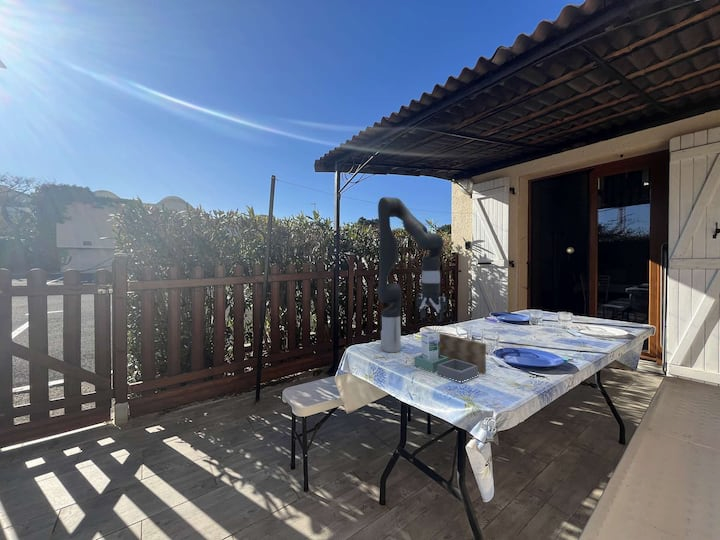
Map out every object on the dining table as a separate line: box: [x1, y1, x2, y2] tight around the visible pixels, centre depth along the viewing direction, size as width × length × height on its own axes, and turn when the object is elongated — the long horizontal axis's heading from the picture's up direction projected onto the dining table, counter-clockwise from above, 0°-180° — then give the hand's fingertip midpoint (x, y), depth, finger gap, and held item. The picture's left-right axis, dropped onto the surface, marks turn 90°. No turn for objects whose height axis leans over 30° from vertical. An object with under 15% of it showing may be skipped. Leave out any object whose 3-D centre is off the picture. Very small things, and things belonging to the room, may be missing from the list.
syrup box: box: [420, 330, 440, 362], centre depth 132 cm, size 6×6×14 cm
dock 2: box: [436, 359, 479, 382], centre depth 122 cm, size 11×11×4 cm
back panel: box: [436, 331, 487, 375], centre depth 133 cm, size 25×2×12 cm, turn 37°
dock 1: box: [413, 354, 448, 373], centre depth 132 cm, size 10×10×4 cm
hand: (431, 319), depth 132 cm, fingers open, 8 cm apart
